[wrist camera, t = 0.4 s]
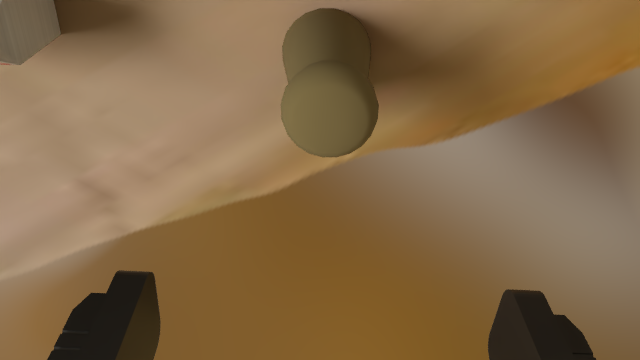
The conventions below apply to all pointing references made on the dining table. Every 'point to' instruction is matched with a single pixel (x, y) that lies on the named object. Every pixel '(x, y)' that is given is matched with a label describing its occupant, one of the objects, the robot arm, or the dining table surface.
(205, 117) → the dining table surface
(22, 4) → the grey house block
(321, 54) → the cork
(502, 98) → the dining table surface
